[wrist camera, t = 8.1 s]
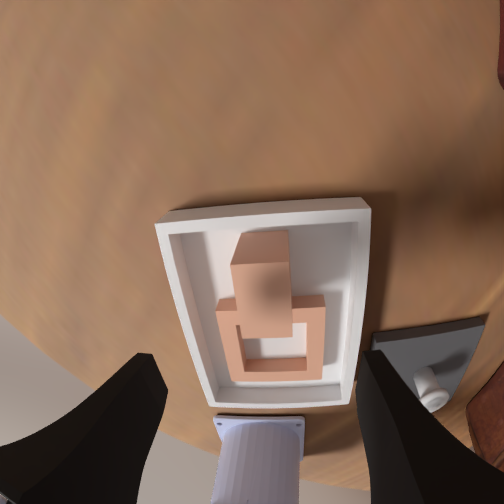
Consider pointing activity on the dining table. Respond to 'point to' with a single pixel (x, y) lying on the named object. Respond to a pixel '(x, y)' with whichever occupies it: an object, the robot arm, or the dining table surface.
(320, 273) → the tray
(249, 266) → the ring
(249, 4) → the dining table surface
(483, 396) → the wooden figurine
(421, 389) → the grey plate with knob
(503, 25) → the plant pot
